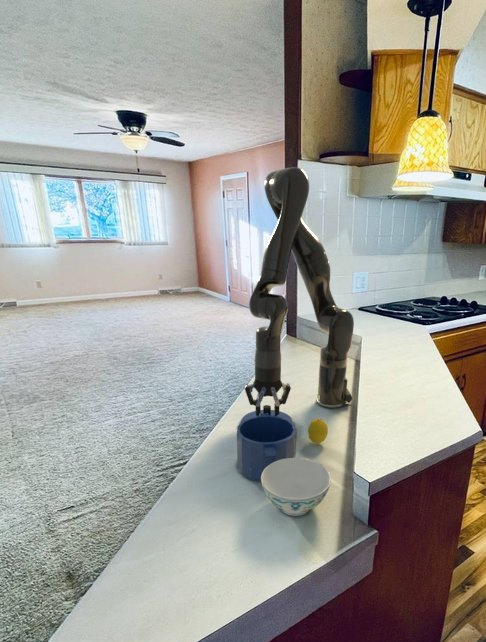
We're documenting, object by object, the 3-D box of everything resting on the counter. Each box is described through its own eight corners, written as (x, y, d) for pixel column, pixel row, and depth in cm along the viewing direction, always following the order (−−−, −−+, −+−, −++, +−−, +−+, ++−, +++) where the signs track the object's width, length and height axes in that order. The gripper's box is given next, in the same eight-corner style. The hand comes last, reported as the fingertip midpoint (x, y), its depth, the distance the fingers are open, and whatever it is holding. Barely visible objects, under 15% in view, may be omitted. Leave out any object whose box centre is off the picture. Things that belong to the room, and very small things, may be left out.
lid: (289, 411, 134) (289, 395, 132) (295, 435, 120) (296, 417, 118) (240, 413, 131) (240, 396, 129) (241, 438, 117) (240, 419, 115)
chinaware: (254, 491, 95) (254, 463, 92) (315, 480, 100) (316, 453, 97) (270, 536, 82) (271, 504, 79) (339, 521, 87) (342, 491, 84)
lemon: (324, 450, 114) (326, 424, 111) (305, 447, 114) (306, 421, 111) (328, 440, 119) (330, 415, 116) (309, 437, 119) (311, 413, 116)
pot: (289, 443, 116) (290, 409, 112) (300, 486, 98) (302, 448, 94) (237, 446, 113) (236, 411, 109) (238, 490, 95) (237, 451, 91)
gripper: (243, 368, 113) (243, 422, 120) (294, 367, 116) (292, 421, 123) (242, 359, 120) (243, 411, 127) (290, 358, 123) (289, 410, 129)
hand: (267, 415), depth 125 cm, fingers open, 4 cm apart
